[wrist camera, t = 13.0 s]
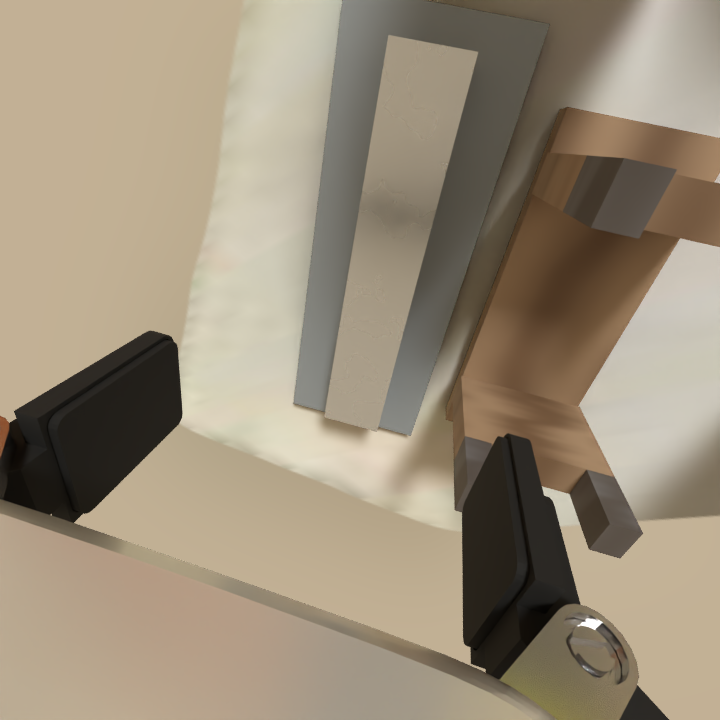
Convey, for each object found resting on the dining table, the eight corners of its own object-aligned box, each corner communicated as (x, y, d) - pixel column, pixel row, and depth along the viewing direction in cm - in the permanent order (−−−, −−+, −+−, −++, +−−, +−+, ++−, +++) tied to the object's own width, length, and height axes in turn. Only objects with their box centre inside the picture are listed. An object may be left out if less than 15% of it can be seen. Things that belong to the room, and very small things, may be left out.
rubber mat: (546, 28, 19) (549, 23, 18) (411, 429, 32) (410, 435, 31) (347, -10, 19) (344, -16, 19) (296, 397, 33) (293, 403, 32)
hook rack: (721, 142, 19) (1003, 140, 10) (549, 435, 30) (599, 580, 20) (558, 108, 20) (665, 74, 10) (444, 407, 30) (443, 534, 20)
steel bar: (474, 64, 19) (478, 51, 17) (382, 407, 30) (376, 431, 28) (396, 49, 20) (388, 35, 17) (334, 394, 31) (323, 417, 28)
